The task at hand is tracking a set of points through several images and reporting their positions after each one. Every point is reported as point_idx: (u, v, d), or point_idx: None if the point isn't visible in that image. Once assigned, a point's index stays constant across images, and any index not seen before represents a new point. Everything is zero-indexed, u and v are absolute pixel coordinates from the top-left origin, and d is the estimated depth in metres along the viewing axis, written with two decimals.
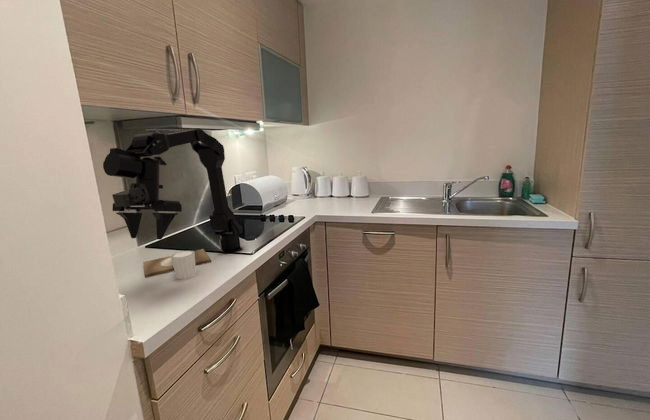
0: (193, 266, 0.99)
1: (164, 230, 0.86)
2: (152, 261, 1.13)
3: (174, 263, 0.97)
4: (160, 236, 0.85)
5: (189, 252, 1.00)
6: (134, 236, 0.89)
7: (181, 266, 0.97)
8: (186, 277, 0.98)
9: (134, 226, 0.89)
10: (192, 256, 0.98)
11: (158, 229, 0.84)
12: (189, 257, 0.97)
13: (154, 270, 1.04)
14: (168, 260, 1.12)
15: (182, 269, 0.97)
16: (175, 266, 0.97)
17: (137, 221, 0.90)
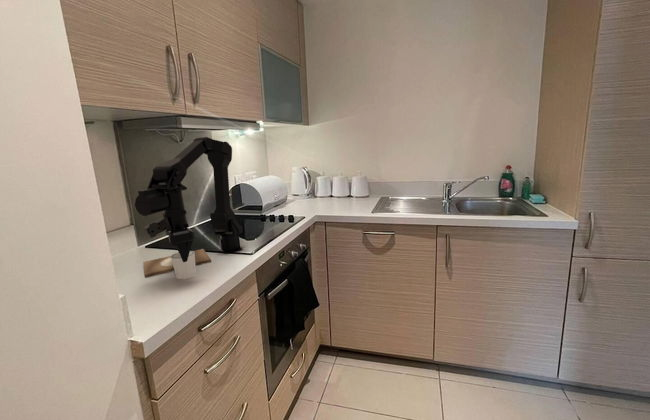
0: (193, 266, 0.99)
1: (186, 254, 0.94)
2: (152, 261, 1.13)
3: (174, 263, 0.97)
4: (184, 259, 0.95)
5: None
6: None
7: (181, 266, 0.97)
8: (186, 277, 0.98)
9: None
10: (192, 256, 0.98)
11: (180, 254, 0.94)
12: (189, 257, 0.97)
13: (154, 270, 1.04)
14: (168, 260, 1.12)
15: (182, 269, 0.97)
16: (175, 266, 0.97)
17: None
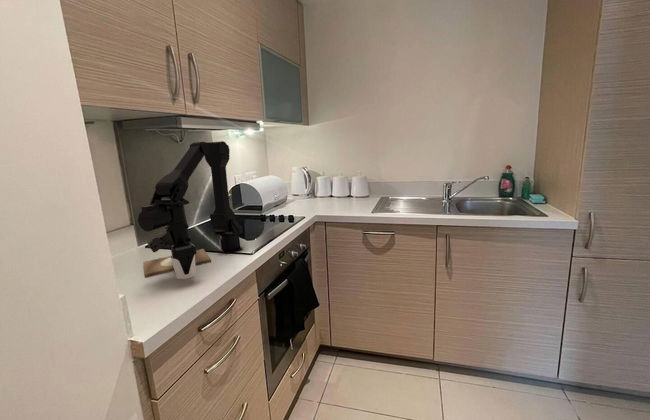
0: (193, 266, 0.99)
1: (188, 267, 0.96)
2: (152, 261, 1.13)
3: (174, 263, 0.97)
4: (186, 272, 0.97)
5: None
6: None
7: None
8: (186, 277, 0.98)
9: None
10: None
11: None
12: None
13: (154, 270, 1.04)
14: (168, 260, 1.12)
15: (182, 269, 0.97)
16: (175, 266, 0.97)
17: None
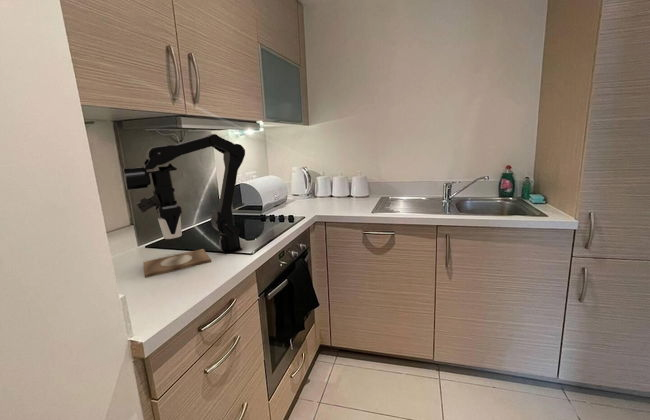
0: (179, 227, 1.08)
1: (174, 227, 1.05)
2: (152, 261, 1.13)
3: (161, 224, 1.05)
4: (172, 232, 1.05)
5: None
6: None
7: None
8: (172, 237, 1.06)
9: None
10: None
11: None
12: None
13: (154, 270, 1.04)
14: (168, 260, 1.12)
15: None
16: (162, 226, 1.05)
17: None
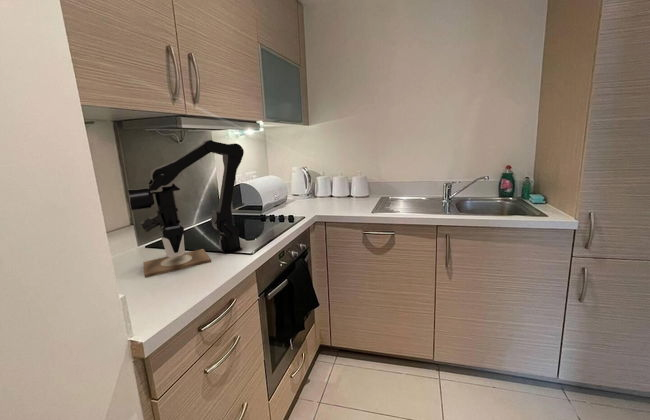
0: (182, 245, 1.10)
1: (177, 246, 1.07)
2: (152, 261, 1.13)
3: (164, 242, 1.07)
4: (175, 250, 1.08)
5: None
6: None
7: None
8: (175, 255, 1.09)
9: None
10: None
11: None
12: None
13: (154, 270, 1.04)
14: (168, 260, 1.12)
15: (172, 248, 1.08)
16: (165, 245, 1.08)
17: None
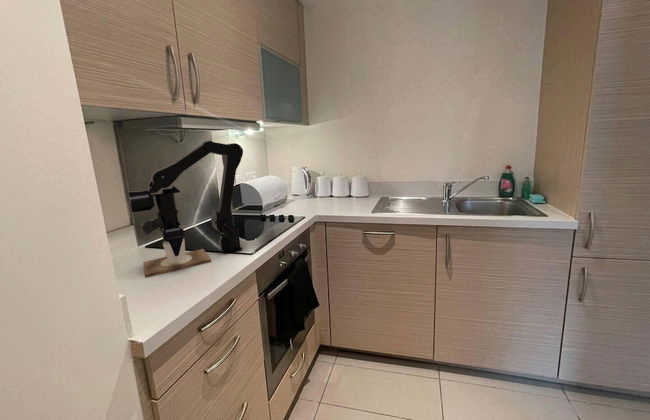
0: (183, 251, 1.10)
1: (178, 249, 1.06)
2: (152, 261, 1.13)
3: (166, 248, 1.08)
4: (176, 254, 1.07)
5: None
6: None
7: (172, 251, 1.08)
8: (176, 261, 1.09)
9: None
10: (182, 242, 1.10)
11: (172, 249, 1.06)
12: None
13: (154, 270, 1.04)
14: None
15: (173, 254, 1.08)
16: (167, 251, 1.08)
17: None
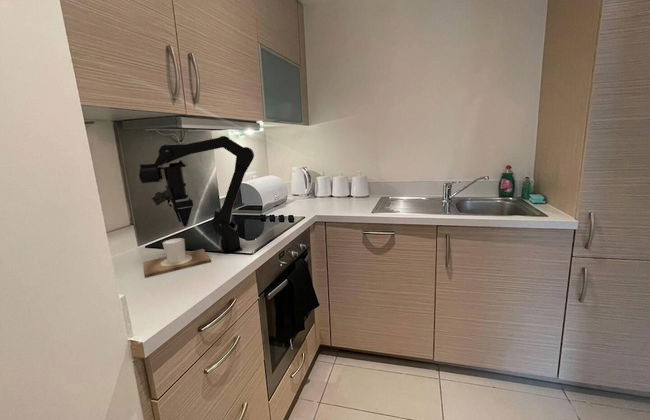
0: (183, 251, 1.10)
1: (186, 219, 1.12)
2: (152, 261, 1.13)
3: (166, 248, 1.08)
4: (184, 224, 1.12)
5: (179, 239, 1.12)
6: (181, 220, 1.20)
7: (172, 251, 1.08)
8: (176, 261, 1.09)
9: None
10: (182, 242, 1.10)
11: (181, 219, 1.11)
12: (179, 243, 1.08)
13: (154, 270, 1.04)
14: None
15: (173, 254, 1.08)
16: (166, 251, 1.08)
17: None
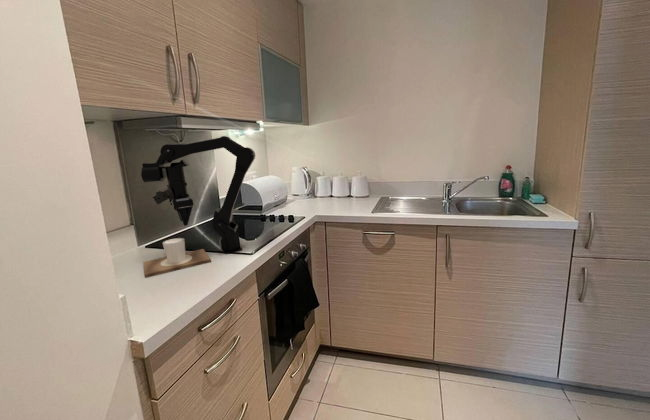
0: (183, 251, 1.10)
1: (187, 219, 1.13)
2: (152, 261, 1.13)
3: (166, 248, 1.08)
4: (185, 223, 1.13)
5: (179, 239, 1.12)
6: (182, 219, 1.21)
7: (172, 251, 1.08)
8: (177, 261, 1.09)
9: None
10: (182, 242, 1.10)
11: (181, 219, 1.12)
12: (179, 243, 1.08)
13: (154, 270, 1.04)
14: None
15: (173, 254, 1.08)
16: (167, 251, 1.08)
17: None
